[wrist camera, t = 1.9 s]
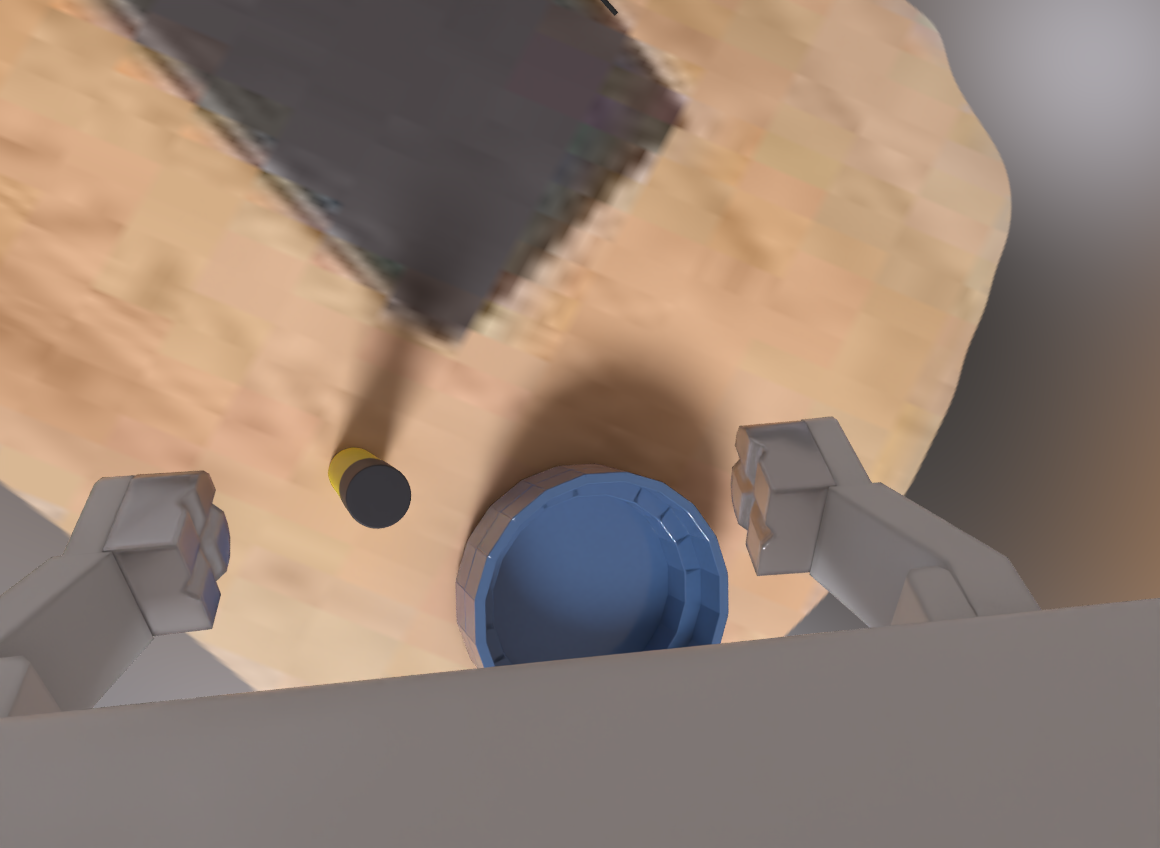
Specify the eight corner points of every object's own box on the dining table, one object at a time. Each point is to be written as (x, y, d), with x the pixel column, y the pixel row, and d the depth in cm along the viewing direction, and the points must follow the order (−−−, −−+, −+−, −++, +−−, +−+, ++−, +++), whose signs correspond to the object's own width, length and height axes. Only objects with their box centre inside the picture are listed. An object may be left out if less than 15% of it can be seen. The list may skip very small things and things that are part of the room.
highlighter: (316, 468, 51) (332, 492, 40) (358, 436, 51) (384, 451, 41) (349, 508, 51) (373, 541, 41) (390, 475, 52) (424, 501, 42)
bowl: (401, 575, 52) (417, 597, 47) (598, 413, 56) (633, 417, 51) (553, 758, 56) (583, 797, 51) (728, 595, 60) (773, 616, 55)
